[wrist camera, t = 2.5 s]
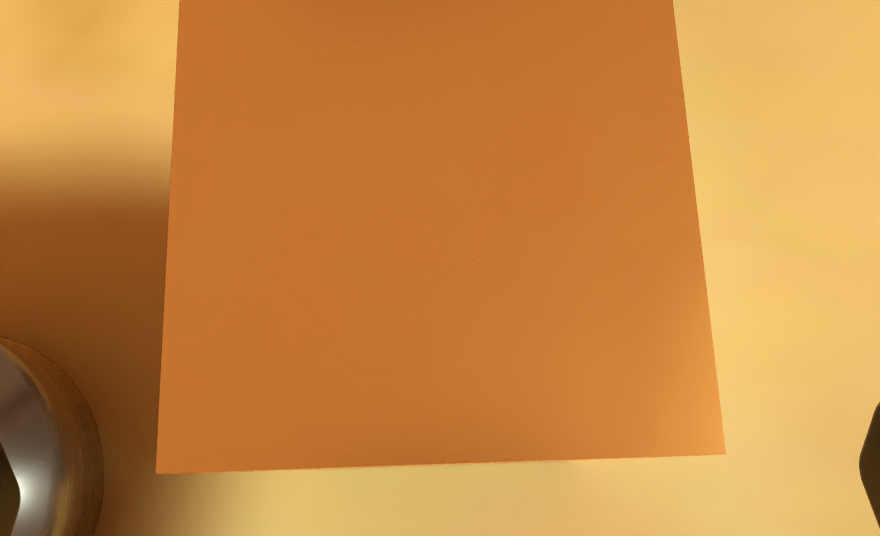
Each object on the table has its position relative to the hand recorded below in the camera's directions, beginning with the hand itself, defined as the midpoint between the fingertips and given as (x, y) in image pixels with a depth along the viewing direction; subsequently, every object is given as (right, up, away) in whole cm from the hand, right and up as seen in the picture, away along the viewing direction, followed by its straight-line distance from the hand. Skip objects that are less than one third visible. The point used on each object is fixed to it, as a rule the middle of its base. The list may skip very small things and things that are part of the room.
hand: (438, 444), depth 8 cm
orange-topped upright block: (0, 0, +10) cm, 10 cm away
